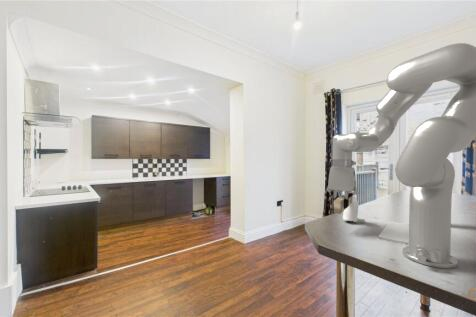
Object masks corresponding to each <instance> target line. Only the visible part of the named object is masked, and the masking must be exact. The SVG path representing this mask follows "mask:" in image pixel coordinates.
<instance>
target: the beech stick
mask: <svg viewBox="0 0 476 317" xmlns="http://www.w3.org/2000/svg"><path fill="white" fill-rule="evenodd" d="M352 192H353V191H352ZM352 192H350V193H352ZM344 199H345V192H344V191H343V193H342V194H340V195H339V197H338V198H337V199H336V200H335V199H334V200H333V214H337V215H341V214H342V213H343V211H344V210H345V209H344ZM352 202H353V198H352V196H351V197H350V198H349V205H350V204H351V203H352Z"/></svg>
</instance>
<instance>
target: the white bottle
mask: <svg viewBox="0 0 476 317" xmlns="http://www.w3.org/2000/svg"><path fill="white" fill-rule="evenodd" d="M352 198H353V202H352V203H351V204H350V205H349V206H348V207H347V208H346V209H345V210H344V211H343V212H342V213H343V215H342V216H343V219H342V220H344V221H347V222H352V221H353V223H358V222H357V218H358V217H359V216H358V214H359V206H360V205H359V204H360V203H359V201H358V200H357V199H356V197H355V195H353V196H352Z"/></svg>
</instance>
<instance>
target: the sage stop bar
mask: <svg viewBox="0 0 476 317" xmlns="http://www.w3.org/2000/svg"><path fill="white" fill-rule="evenodd" d="M340 219H341V220H343V215H341V216H340ZM356 223H360V224H365V223H366V220H365V219H362V218H359V217H357V222H356Z"/></svg>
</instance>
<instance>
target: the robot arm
mask: <svg viewBox="0 0 476 317" xmlns="http://www.w3.org/2000/svg"><path fill="white" fill-rule="evenodd" d="M442 81H447V82H450V83H454V84H456V85H458V86H459V90H458V91H457V92H456V93H455V94H454V95H453V97H451V99H450V101H449V102H448V104H447V106H446V107H445V110H444V111H443V113H442V114H441V116H436V117H435V116H434V117H431V118H428V119H425V120H424V121H422V122H421V123H420V124H419V125H418V126H417V127H416V128H415V130H413V132H412V134H411V136H410V138H409V139H408V141H407V142H406V145H405V147H404V148H403V150H402V152H401V154H400V156H399V158H398V160H397V162H396V165H395V170H394V172H395V173H394V174H395V177H396V179H397V180H398V181H399V182H400V183H401V184H402V185H404V186H407V187H409V188H410V193H409V203H408V204H409V205H408V207H409V210H408V212H409V213H408V215H409V216H408V218H409V219H408V224H409V244H408V246H404V247H403V248H402V254H403V255H404V256H405V257H406V258H408V259H410V260H412V261H413V262H416V263H418V264H421V265H425V266H429V267H433V268H438V269H454V268H457V267H459V266H458V265H459V264H458V263H459V262H458V259H457V258H456V257H454V256H452V255H451V249H452V248H451V244H452V242H451V240H452V239H451V236H452V234H451V232H452V201H453V200H452V197H453V196H452V195H453V190H454V188H453V187H454V183H455V176H456V173H455V172H456V171H455V167H454V165H453V163H452V161H450V160H449V159H448V157H449V155H450V154H452V153H458V152H462V151H463V150H465V149H467V148H468V147H469V146H470V145H471V143H472V142H473V141H474V139H475V137H476V46H474V45H473V44H470V43H465V42H464V43H463V42H459V43H458V42H457V43H453V44H449V45H445V46H443V47H439V48H437V49H434V50H431V51H429V52H426V53H424V54H420V55H419V56H415V57H413V58H410V59H407V60H405V61H403V62H401V63H399V64H398V65H396V66H395V67H393V68H392V69H391V71H390V72H389V73H388V75H387V77H386V86H387V87H388V89H389V90H388V91H387V93H385V95H384V96H383V97H382V98H381V99H380V100H379V102H378V103H377V104H376V106H375V111H376V112H377V114H378V119H377V121H376V123H375V124H374V126H373V127H372V128H371V129H370V130H369V131H368V132H357V131H356V132H354V131H353V132H350V133H349V132H348V133H346V134H344V133H343V134H341V133H340V134H335V135H334V136H332V154H331V155H332V165H331V166H330V169H329V174H328V185H327V186H326V188H325V191H326V192H328V193H329V194H331V195H332V197H333V199H334V200H336V199H337V198H338V197H339V196H340V195H339V192H343V193H344V192H345V199H344V209H346V208H347V207H348V206H349V198H350V197H351V196H356V195H359V194H360V193H359V192H360V191H359V190H358V189H357V178H356V176H357V175H356V169H355V167H353V166H356V165H357V162H356V161H354V160H353V152H355V153H371V152H374V151H376V150H378V149H379V148H380V147H381V146H382V145H383V144H384V143H386V142H387V141H388V139H389V138H390V137H391V136H392V134H393V133H394V131H395V129H396V127H397V125H398V122H399V120H400V119H401V117H403V115H404V114H406V112H407V111H409V109H410V108H411V107H413V105H415V104H416V102H417V101H418V100H420V98H421V97H422V96H423V95H424V94H425V93H426V92H427V91H428V90H429V89H430V88H431V87H432V85H433V84H434V83H438V82H442ZM350 192H352V193H350Z"/></svg>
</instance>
